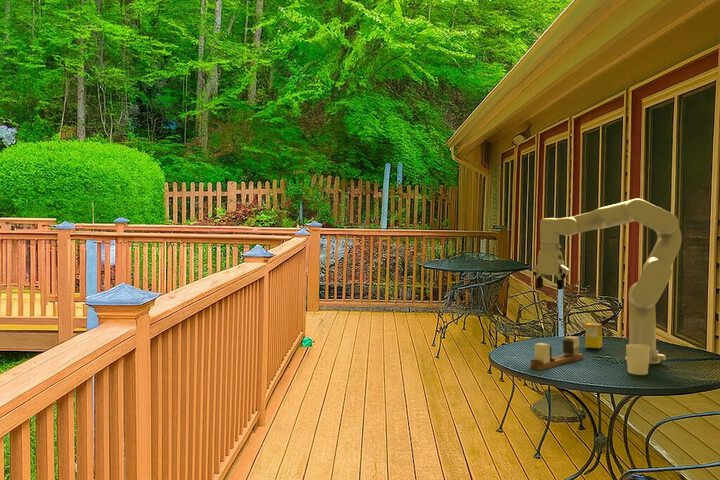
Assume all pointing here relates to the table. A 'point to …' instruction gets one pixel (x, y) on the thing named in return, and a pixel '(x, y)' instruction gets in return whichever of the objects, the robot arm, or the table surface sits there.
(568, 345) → the rail
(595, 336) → the supplement box
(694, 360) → the table surface
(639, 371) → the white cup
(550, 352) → the cream brown block
